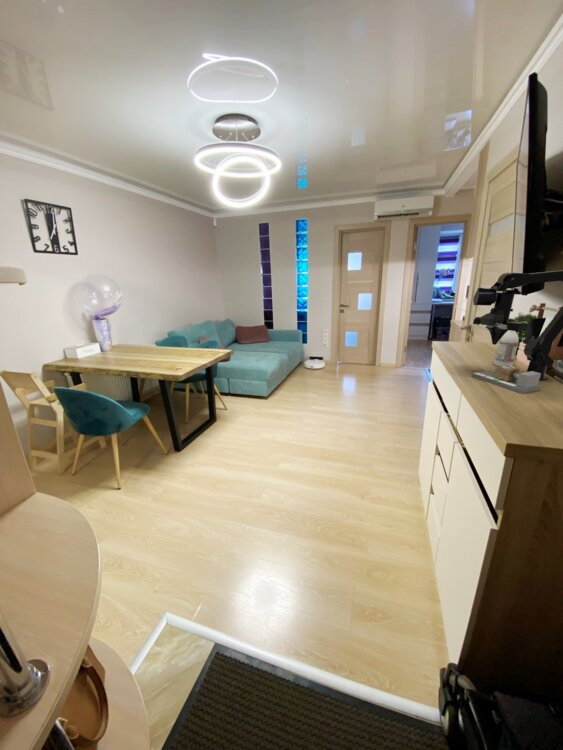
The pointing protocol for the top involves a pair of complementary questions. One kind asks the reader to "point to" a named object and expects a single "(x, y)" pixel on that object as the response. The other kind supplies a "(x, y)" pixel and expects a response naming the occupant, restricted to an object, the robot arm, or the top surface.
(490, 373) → the gauge rail
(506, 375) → the gauge carriage
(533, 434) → the top surface
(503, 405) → the top surface
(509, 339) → the bath foam
